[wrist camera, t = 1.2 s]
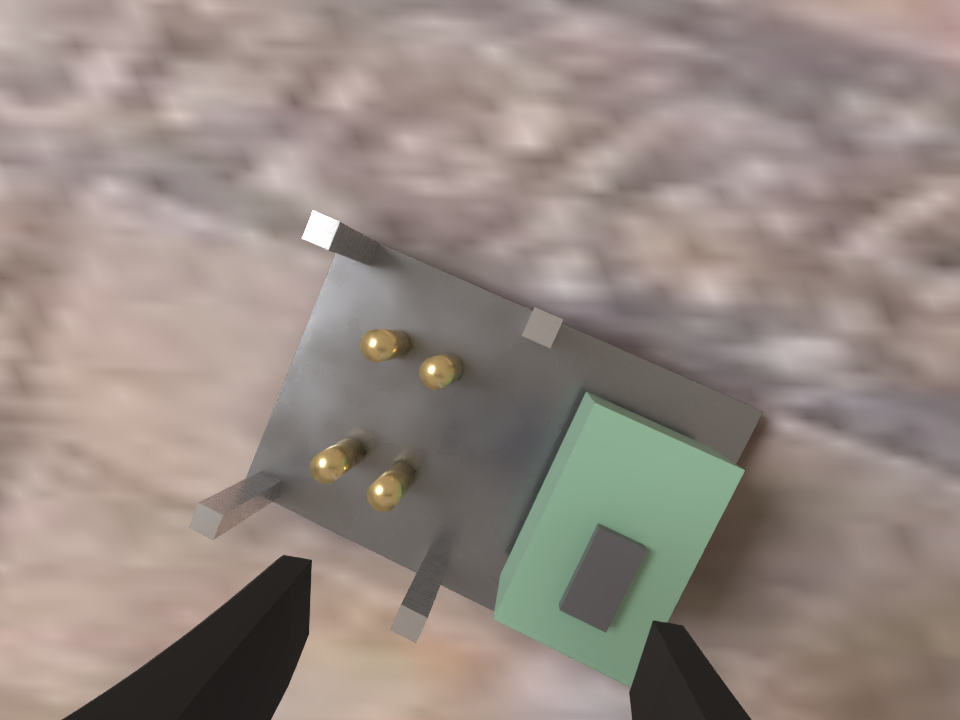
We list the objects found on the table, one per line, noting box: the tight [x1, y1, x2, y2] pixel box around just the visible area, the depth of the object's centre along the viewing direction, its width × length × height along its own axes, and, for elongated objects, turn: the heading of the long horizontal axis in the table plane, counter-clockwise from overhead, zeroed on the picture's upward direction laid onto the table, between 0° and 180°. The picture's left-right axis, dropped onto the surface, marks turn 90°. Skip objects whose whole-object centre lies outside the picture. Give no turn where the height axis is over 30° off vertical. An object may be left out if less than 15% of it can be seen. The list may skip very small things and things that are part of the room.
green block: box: [493, 392, 745, 687], centre depth 17 cm, size 5×8×3 cm, turn 156°
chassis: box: [189, 210, 763, 643], centre depth 19 cm, size 18×12×5 cm, turn 66°
